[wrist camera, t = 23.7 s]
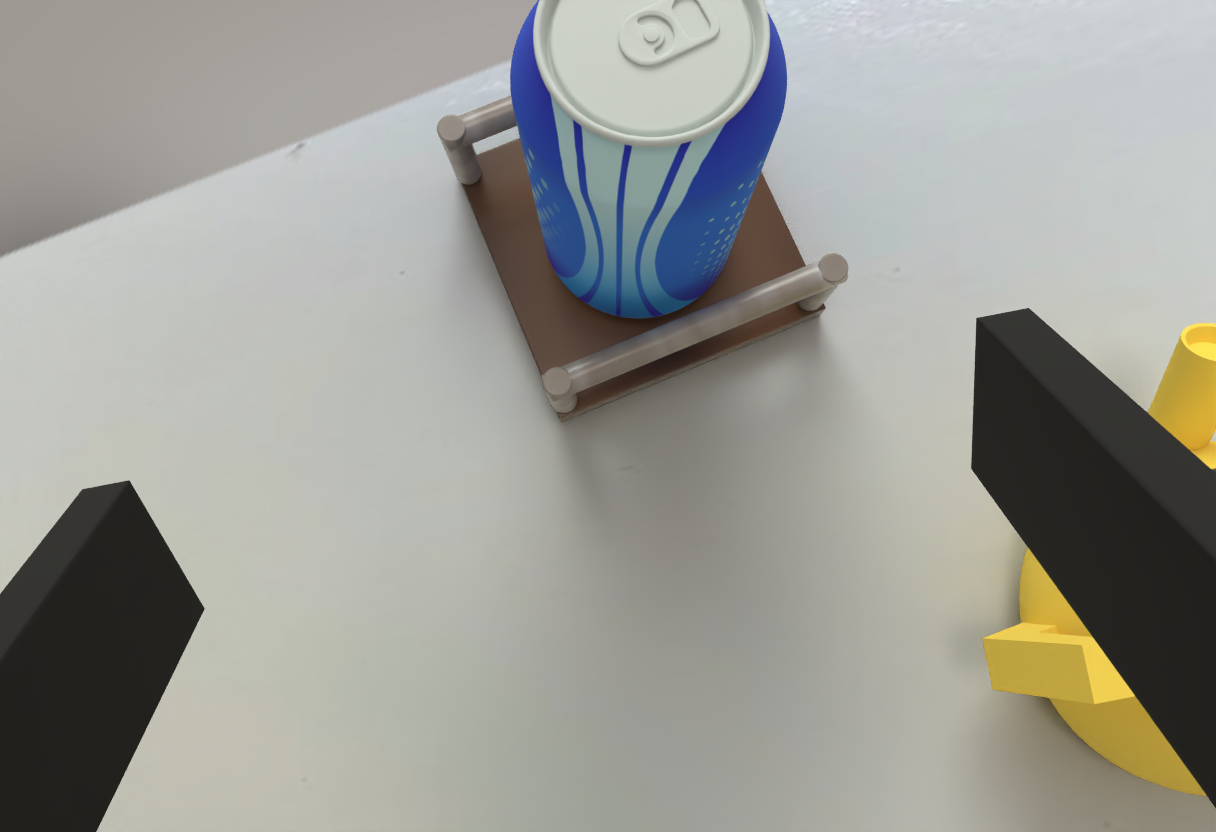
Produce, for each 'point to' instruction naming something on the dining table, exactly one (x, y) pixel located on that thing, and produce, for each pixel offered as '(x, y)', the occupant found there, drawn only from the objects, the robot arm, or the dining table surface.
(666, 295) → the beer can
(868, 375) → the dining table surface
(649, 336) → the rail rack
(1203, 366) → the teapot
